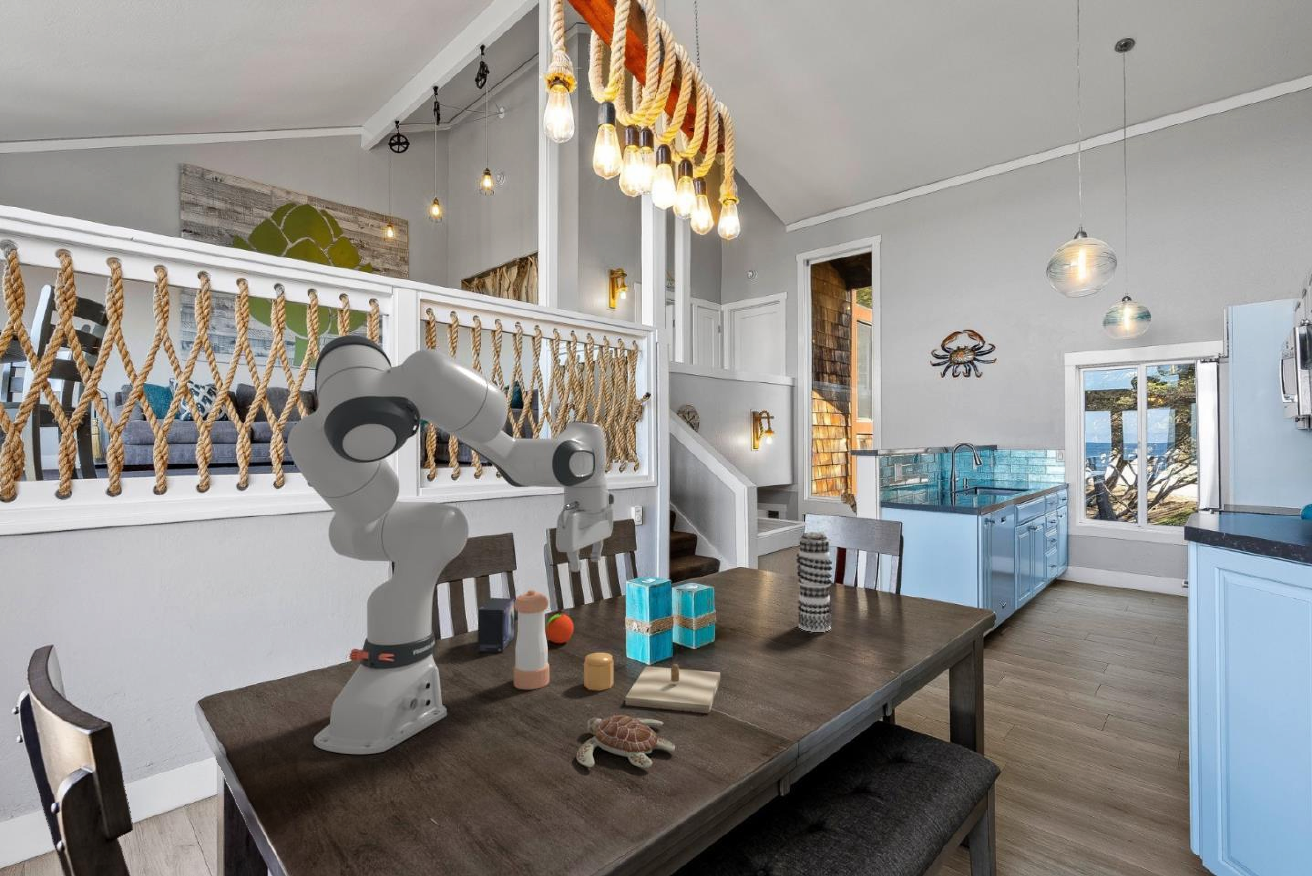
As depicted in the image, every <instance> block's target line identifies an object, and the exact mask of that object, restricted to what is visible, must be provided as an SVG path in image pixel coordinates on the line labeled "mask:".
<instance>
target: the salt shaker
mask: <svg viewBox="0 0 1312 876" xmlns="http://www.w3.org/2000/svg"><path fill="white" fill-rule="evenodd" d="M548 606H549V599H548V598H547V596H546V595H545V594H542V593H539V592H536V591H535V590H534V589H529V590H527V592H526V593H522V594H520V595H518V596H517V597H516V599H514V610H515V611H516V612H517V636H516V641H515V649H514V651H515V652H514V653H515V654H514V655H515V664H514V666H513V686H514V687H515V688H517V689H519V690H536V689H540V688H541V689H542V688H543V687H546V686H547V685H548V684H549V683H550V664H549V662H548V652H549V649H548V641H547V637H546V636H547V634H546V622H545V620H546V617H545V616H546V614H545V612H546V611H545V610H547V608H548Z"/></svg>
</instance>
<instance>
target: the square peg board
mask: <svg viewBox="0 0 1312 876" xmlns="http://www.w3.org/2000/svg"><path fill="white" fill-rule="evenodd" d="M720 682H721V672H720V671H719V672H717V671H706V670H697V669H695V670H694V669H685V668H684V669H682V668H680V666H679V665H678V664H677V663H673V664H672V665H671V667H669V668H668V667H661V666H659V667H658V666H646V665H645V667H644V668H643V670H642V671H641V673H640V675H639V676H638V678H637V679H636V681H635V682H634V683H633V685H632V686H631V689H630V690H629V691H628V693H627V694H626V695H625V701H624V702H625V706H631V707H643V708H652V709H660V708H661V709H663V710H670V709H671V711H682V710H683V712H690V711H691V713H703V714H710V713H709V712H711V709H712V706H713V703H714V699H715V697H716V693H717V691H718V688H719V685H720Z"/></svg>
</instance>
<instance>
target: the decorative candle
mask: <svg viewBox="0 0 1312 876" xmlns="http://www.w3.org/2000/svg"><path fill="white" fill-rule="evenodd" d="M798 541H799V549H798V553H797V554H796V557H797V558H796V563H797V564H798V565H797V566H796V568H797V572H796V574H797V576H798V579H797V583H798V585H799V593H798V594H799V595H798V596H799V598H798V600H797V604H798V605H799V606H797V608H798V609H797V610H798V611H799V612H798V613H797V616H798V619H797V621H798V624H797V625H798V626H799V627H798V629H799V628H801V629H803V630H806V631H811V632H810V633H812V632H824V633H826V632H825V631H828V630H830V629H831V630H832V628H831V625H832V621H831V619H832V615H831V613H830V612H832V608H831V606H832V603H831V602H830V601H831V596H830V586H831V585H832V580H830V579H831V578H832V574H830V572H829V571H832V570H833V567H832V566H831V565H832V564H833V561H832V560H831V559H829V558H830V556H831V553H830V544H829V543H830V541H831V540H830V538H828V537H827V535H826V534H825V533H823V532H812V531H811V532H804V533H803V534H802V535H801V537H800V538H798ZM801 629H800V630H801ZM803 630H802V631H803ZM831 630H830V631H831ZM806 631H805V632H806ZM828 632H829V631H828Z"/></svg>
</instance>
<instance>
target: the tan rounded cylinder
mask: <svg viewBox="0 0 1312 876" xmlns="http://www.w3.org/2000/svg"><path fill="white" fill-rule="evenodd" d="M614 666H615V663H614V659H613V655H612V654H611V653H607V652H592V653H589V654H587V655H586V656H585V657H584V662H583V686H584V687H585V688H586V689H587V690H589V691H605V690H608V689H611V688H612V686H614V684H615V682H614V681H615V680H614V675H615V674H614V673H615V669H614Z"/></svg>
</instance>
